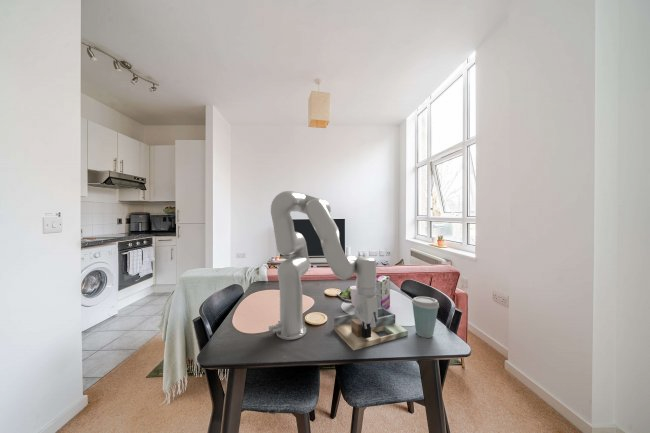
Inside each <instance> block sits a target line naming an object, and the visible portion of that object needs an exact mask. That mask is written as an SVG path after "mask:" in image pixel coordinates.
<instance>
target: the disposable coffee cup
mask: <svg viewBox="0 0 650 433" xmlns="http://www.w3.org/2000/svg"><path fill="white" fill-rule="evenodd" d="M411 303H412V310H413V312H412V313H413V318H414V326H415V333H416V334H417V335H418V336H420V337H422V338H425V339H427V338H429V339H430V338H432V337H433V336H434V331H435V328H436V327H435V326H436V321H437V317H438V311H439V308H440V303H439V301H438V300H437V299H436V298H434V297H429V296H416V297H413V298H412V300H411Z"/></svg>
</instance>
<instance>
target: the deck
mask: <svg viewBox="0 0 650 433" xmlns="http://www.w3.org/2000/svg"><path fill="white" fill-rule="evenodd" d="M357 318H358V317H357V316H356V315H355V313H349V314H344V315H340V316H339V315H338V316H334V317H333V330H334V332H335V333H336V334H337V335H338V336H339V337H340V338H341V339H342V340H343V342H345V344H346V345H348V346H349V347H350V349H351V350H352V351H356V350H360V349H363V348H367V347H372V346H374V345H377V344H382V343H385V342H388V341H393V340H396V339H400V338H403V337H406V336H407V337H408V333H409V332H408V330H407V329H406V328H405V327H403V326H401V325H400V324H399V323H396V314H394V313H393V312H391V311H390V310H388V309H385V308H383V307H382V308H378V321H377V322H375V323H376V327H374V328H371V337H370V338H366V339H364V338H363V337H357V336H356V335H355V334H353V333H352V332H351V320H352V319H357ZM382 331H384V332H385V333H387V334H388V335H387V334H386V335H384V336H380V335H378V334H377V332H382Z"/></svg>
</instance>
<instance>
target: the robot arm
mask: <svg viewBox="0 0 650 433" xmlns="http://www.w3.org/2000/svg"><path fill="white" fill-rule="evenodd" d="M331 211H332V209H331V206H330V204H329V202H328V201H326V200H325V199H323V198H322V199H321V198H318V197H315V196H311V195H308V194H306V193H305V194H304V193H303V192H296V191H292V190H286V191H282V192H279V193H278V194H276V196H275V197H274V198H273V200H272V201H271V205H270V216H271V219H272V225H273V232H274V238H275V244H276V245H275V246H276V250H277V252H278V253H279V254H280V255H281V256H284V257H285V256H286V257H288V258H286V259H285V260H283V261H281V263H280V264H279V265H278V268H277V278H278V285H279V286H278V287H279V320H278V321H277V322H278V323H276V324H275V325H269V326H268V331H269V332H273V333H276V336H277V337H278V338H280V339H281V340H285V341H286V340H287V341H292V340H297V339H300V338H303V337H304V336H305V335H306V333H307V326H305V325H304V323H303V322H304V321H303V314H304V313H303V284H302V280H301V277H302V276H304V275H306V273H307V272H309V269H310V259H309V258H310V257H309V253H308V246H307V241H306V239H305V237H304V235H303V234H302V233H300V232H298V231H295V225H294V220H293V219H292V218H293V217H292V216H291V212H299V213H302V214H305V215H306V216H307V218H308V220H309V222H310V224H311V225H312V227H313V228H314V231H315V233H316V234H317V236H318V238H319V240H320V245H321V246H320V247H321V248H322V252H323V255H324V258H325V260H326V262H327V264H328V266H329V267H330V269H331V271H332V273H333V275H334V276H335V277H336V278H338V279H340V280H343V281H346V280H348V279H350V278H351V277H352V276H353V275H356V280H357V291H356V295H355V306H353V307H354V309H353V310H354V313H355V315H356V316H357V317H358V318H359V319H360V320H361V326H363V327H362V337H363V338H364V339H366V338H370V337H371V328H374V327H376V323H375V322H377V321H378V306H377V298H376V278H377V261H376V259H375V258H373V257H371V256H368V257H367V256H362V257H360V256H355V255H350V254H348V255H346V253H345V252H344V249H343V247H342V245H341V241H340V231H339V227H338V226H337V224H336V222H335V220H334V218H333V217H332V214H331Z"/></svg>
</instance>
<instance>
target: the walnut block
mask: <svg viewBox="0 0 650 433" xmlns="http://www.w3.org/2000/svg"><path fill="white" fill-rule="evenodd" d="M362 327H363V326H361V320H360V319H359V318H357V319H352V320H351V332H352V333H353V334H355V335H356V336H357V337H362Z"/></svg>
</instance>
